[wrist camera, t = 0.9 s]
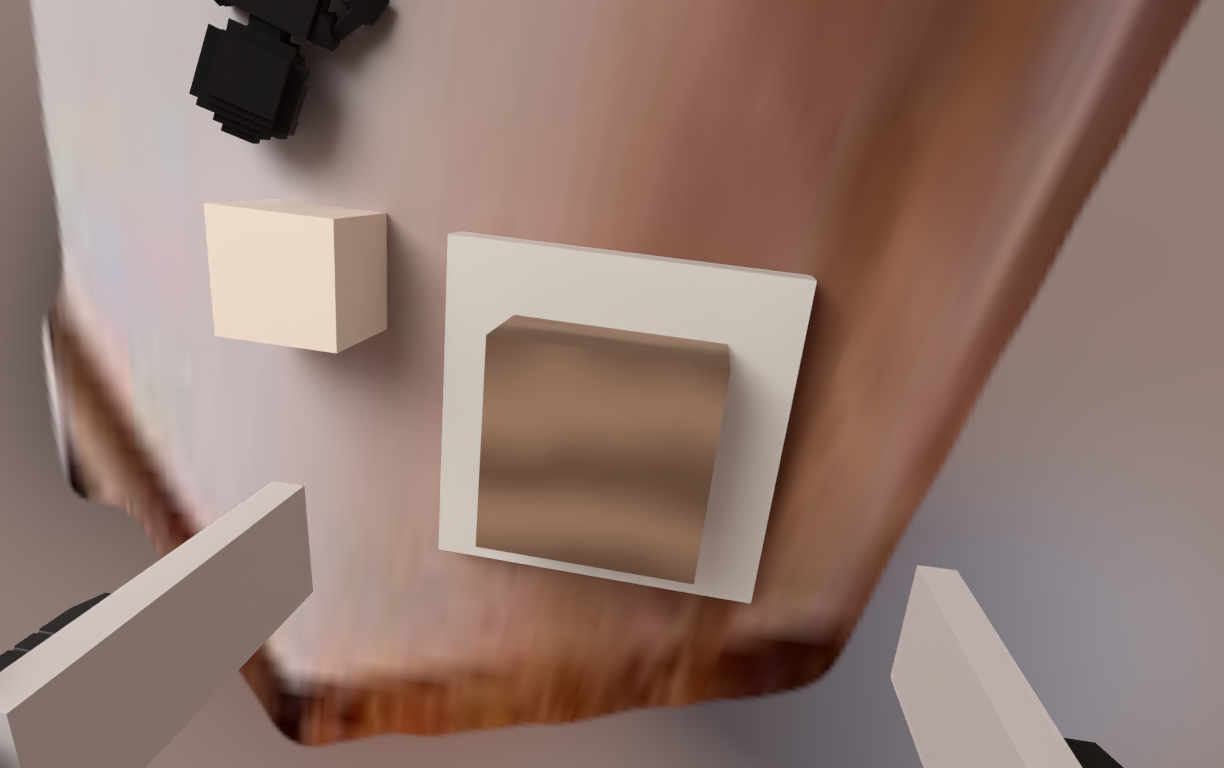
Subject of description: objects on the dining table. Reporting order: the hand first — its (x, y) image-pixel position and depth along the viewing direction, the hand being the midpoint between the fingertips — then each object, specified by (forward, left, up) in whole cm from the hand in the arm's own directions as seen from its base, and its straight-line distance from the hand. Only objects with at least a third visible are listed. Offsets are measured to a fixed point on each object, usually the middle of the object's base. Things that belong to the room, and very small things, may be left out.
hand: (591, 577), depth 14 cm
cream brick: (-1, -20, -26) cm, 33 cm away
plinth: (+6, -2, -26) cm, 26 cm away
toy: (-15, -22, -26) cm, 37 cm away
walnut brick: (+6, -2, -24) cm, 24 cm away
